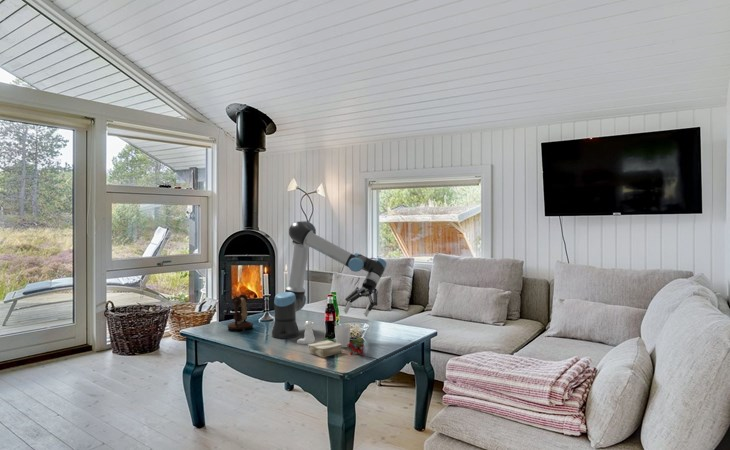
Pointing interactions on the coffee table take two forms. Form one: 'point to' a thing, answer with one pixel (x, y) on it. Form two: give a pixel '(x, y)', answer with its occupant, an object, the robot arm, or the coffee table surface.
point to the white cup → (342, 334)
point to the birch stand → (324, 348)
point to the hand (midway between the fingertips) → (354, 313)
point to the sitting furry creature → (307, 334)
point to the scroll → (240, 314)
